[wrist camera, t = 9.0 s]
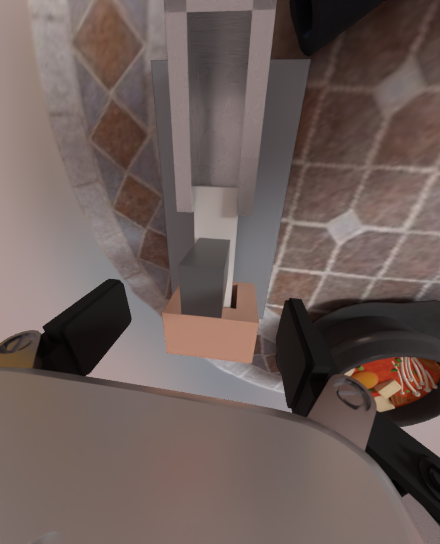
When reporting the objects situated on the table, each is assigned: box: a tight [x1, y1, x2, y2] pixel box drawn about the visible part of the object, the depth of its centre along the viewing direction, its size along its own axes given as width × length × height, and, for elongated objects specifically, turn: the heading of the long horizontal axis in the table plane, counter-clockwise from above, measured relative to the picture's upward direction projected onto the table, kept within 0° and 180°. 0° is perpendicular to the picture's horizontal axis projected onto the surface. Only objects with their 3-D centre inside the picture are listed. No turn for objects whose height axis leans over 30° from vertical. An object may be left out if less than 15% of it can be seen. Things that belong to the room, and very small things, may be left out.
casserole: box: [276, 300, 440, 427], centre depth 26 cm, size 25×19×8 cm
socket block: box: [162, 282, 259, 364], centre depth 24 cm, size 6×10×8 cm, turn 87°
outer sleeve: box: [164, 0, 277, 216], centre depth 16 cm, size 12×6×7 cm, turn 177°
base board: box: [151, 59, 311, 319], centre depth 23 cm, size 28×14×1 cm, turn 177°
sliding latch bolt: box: [178, 185, 239, 318], centre depth 18 cm, size 16×4×11 cm, turn 177°
